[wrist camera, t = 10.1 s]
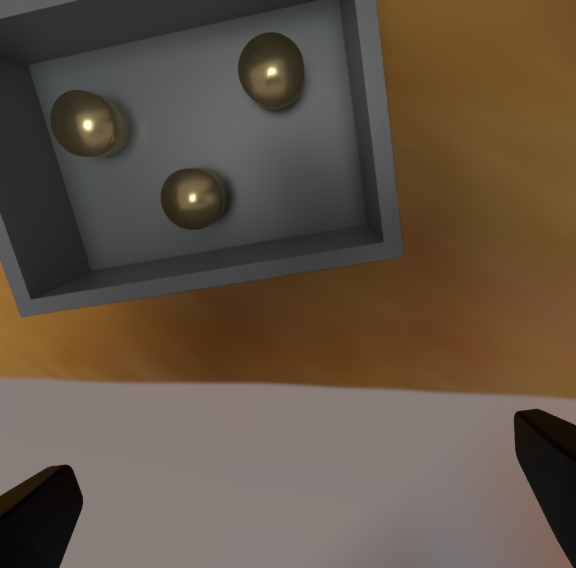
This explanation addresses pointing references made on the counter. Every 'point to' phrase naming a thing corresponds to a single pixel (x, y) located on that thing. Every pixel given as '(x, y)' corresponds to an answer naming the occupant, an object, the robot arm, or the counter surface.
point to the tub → (189, 148)
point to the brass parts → (191, 181)
